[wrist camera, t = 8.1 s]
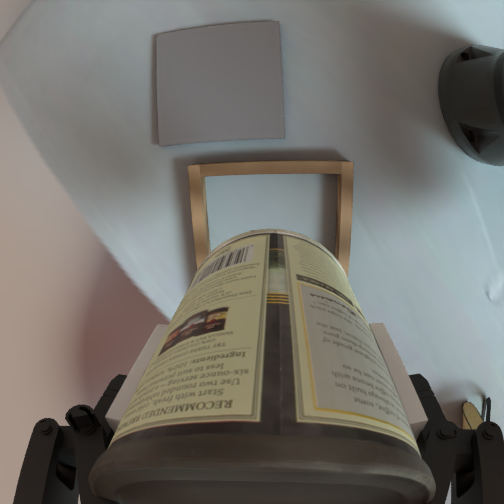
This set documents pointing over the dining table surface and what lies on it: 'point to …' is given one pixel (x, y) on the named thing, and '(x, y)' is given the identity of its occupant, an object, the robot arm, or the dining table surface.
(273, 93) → the mat
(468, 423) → the clutch purse
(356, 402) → the coffee can
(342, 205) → the frame
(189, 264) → the dining table surface
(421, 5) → the dining table surface
